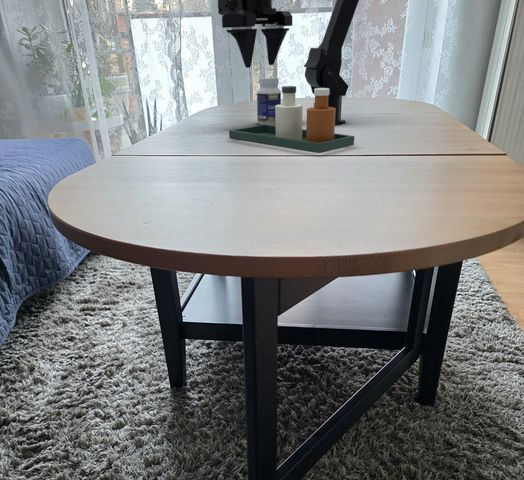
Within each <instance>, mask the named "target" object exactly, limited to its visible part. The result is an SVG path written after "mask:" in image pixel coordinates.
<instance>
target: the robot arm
mask: <svg viewBox="0 0 524 480" xmlns="http://www.w3.org/2000/svg"><path fill="white" fill-rule="evenodd" d="M359 2H360V0H336V1H335V4H334V7H333V10H332V12H331V15H330V18H329V22H328V24H327V27H326V30H325V33H324V36H323V39H322V41H321V43H319V46H318V47H310V48H309V49H310V50H309V52H308V57H307V60H306V62H305V63H304V65H303V68H305V69H304V70H305V71H304V77H305V80H306V82H307V84H308V85H309V86H310V89H311V92H312V94H313V95H314V89H316V88H329V95H328V107H333V108H335V109H336V111H335V125H338V124H343V123H347V122H346V121H347V120H346V119H342V102H343V97H345V96H346V95H347V92H348V90H349V85H348V83H347V82H346V80H344V79H343V77H342V76H341V75H340V73H341V69H342V64H343V55H342V54H343V46H344V44H345V42H346V38H347V35H348V32H349V29H350V27H351V25H352V21H353V18H354V16H355V14H356V10H357V7H358V4H359ZM217 9H218V11H217V13H218V15H219V16H221V27H222V29H225V28H226V30H225V32H227V33H228V34H230V35H231V36H232V37H233V38H234V39H235V41H236V44H237V46H238V48H239V52H240V55H241V58H242V61H243V64H244V67H245V68H246V69H250V68H251V67H252V62H253V57H254V50H255V44H256V38H257V32H258V29H257V28H254V27H255V26H256V25H261V26H262V28H260V31H261V33H262V34H263V35H264V37H265V42H266V52H267V53H266V54H267V62H268V65H269V66H274V64H275V62H276V60H277V57H278V55H279V52H280V49H281V46H282V44H283V42H284V40H285V38H286V35H287V33H288V32H289V31H290V28H289V27H293V15H292V13H291V12H290V11H289V10H277V8H276V7H273V0H217ZM227 28H228V29H227ZM229 28H231V29H229ZM313 107H315V102H313Z"/></svg>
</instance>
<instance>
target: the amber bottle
mask: <svg viewBox="0 0 524 480" xmlns="http://www.w3.org/2000/svg"><path fill="white" fill-rule="evenodd" d="M313 95H314V103H315V107H314V106H311V107H308V108H306V125H305V126H306V129H305V130H306V141H308V142H315V143H322V142H326V141H331V140H334V133H335V130H336V129H335V127H336V124H335V111H336V109H335V108H333V107H328V95H329V88H316V89H314V94H313Z"/></svg>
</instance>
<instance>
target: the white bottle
mask: <svg viewBox="0 0 524 480" xmlns="http://www.w3.org/2000/svg"><path fill="white" fill-rule="evenodd" d="M296 93H297V86H295V85H285V86H281V94H282V103H281V104H280V105H276V106H275V116H276V123H275V126H276V137H281V138H288V139H295V140H302V129H303V108H304V107H303V104H300V103H296Z"/></svg>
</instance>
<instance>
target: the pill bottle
mask: <svg viewBox="0 0 524 480" xmlns="http://www.w3.org/2000/svg"><path fill="white" fill-rule="evenodd" d="M279 81H280V78H279V77H259V78H258V84H259V88H258V89H257V92H256V114H257V115H256V116H257V120H256V121H257V124H258V125H263V124H265V125H270V124H276V116H275V106H276V105H280V104H282V90H281V89H280V88H279V86H278V85H279V83H280V82H279Z"/></svg>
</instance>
